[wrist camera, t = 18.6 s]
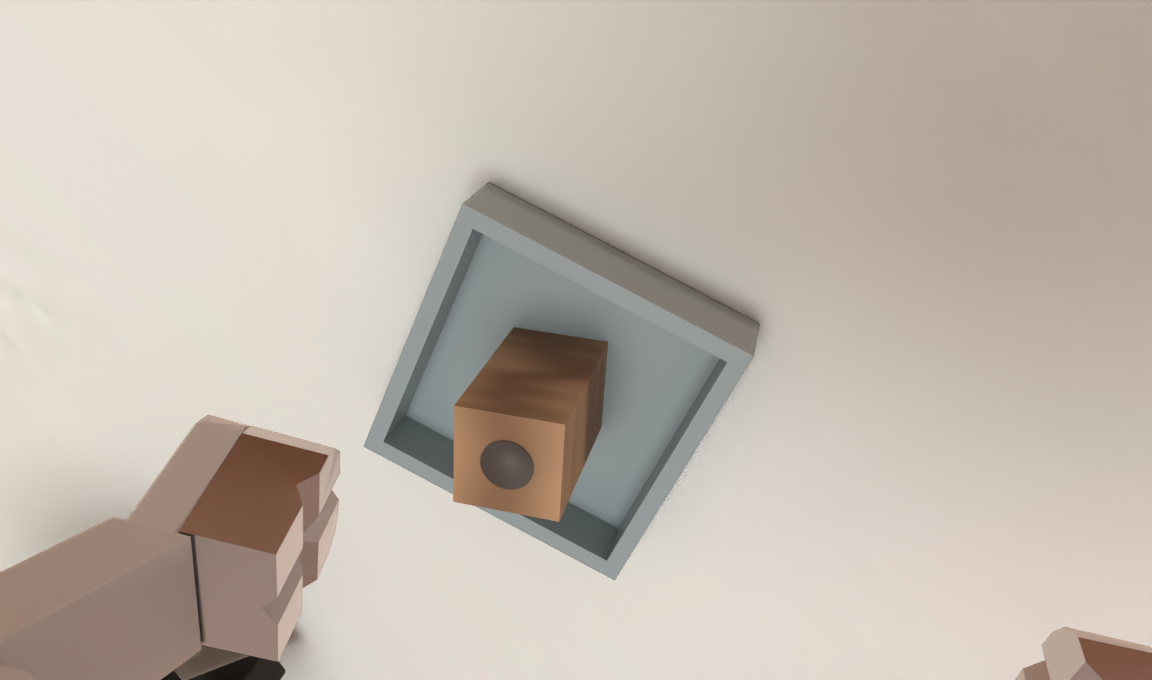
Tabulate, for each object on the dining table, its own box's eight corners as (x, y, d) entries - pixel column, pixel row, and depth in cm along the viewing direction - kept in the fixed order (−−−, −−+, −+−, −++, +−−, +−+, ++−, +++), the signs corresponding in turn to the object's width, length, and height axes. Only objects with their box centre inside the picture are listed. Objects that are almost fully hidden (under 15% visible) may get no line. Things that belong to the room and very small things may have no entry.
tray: (759, 323, 43) (753, 356, 40) (628, 538, 50) (614, 580, 46) (489, 182, 44) (462, 203, 41) (392, 412, 50) (363, 446, 47)
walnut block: (608, 341, 45) (564, 426, 37) (601, 427, 46) (558, 523, 39) (513, 327, 45) (453, 406, 38) (510, 411, 47) (452, 502, 40)
